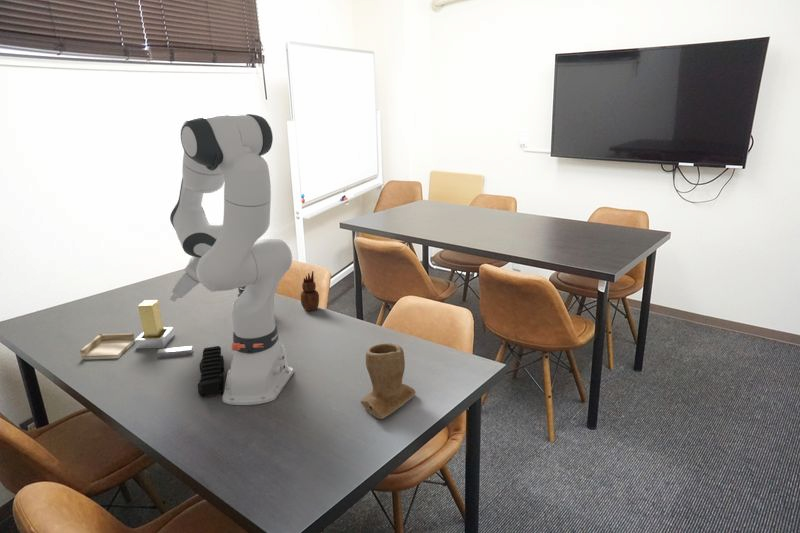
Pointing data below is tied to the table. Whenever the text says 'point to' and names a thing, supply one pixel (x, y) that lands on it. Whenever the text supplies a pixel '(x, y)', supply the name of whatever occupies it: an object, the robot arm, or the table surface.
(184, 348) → the gray rectangular bar
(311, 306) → the wooden figurine
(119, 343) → the rack plate
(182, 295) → the robot arm
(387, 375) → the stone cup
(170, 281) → the table surface
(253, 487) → the table surface
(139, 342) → the socket collar
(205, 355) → the rail mount
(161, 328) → the yellow wooden block
